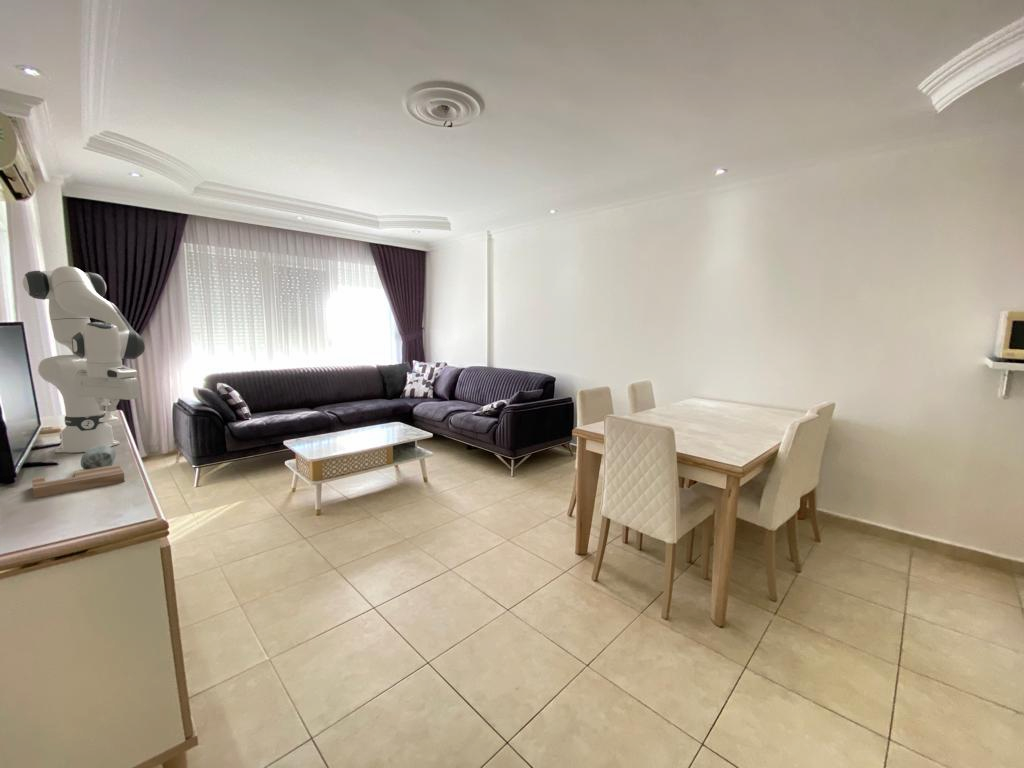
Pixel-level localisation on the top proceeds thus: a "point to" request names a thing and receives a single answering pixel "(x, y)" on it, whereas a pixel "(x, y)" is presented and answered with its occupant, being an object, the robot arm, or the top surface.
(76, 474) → the notch board
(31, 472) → the top surface
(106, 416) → the chess piece
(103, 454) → the yarn ball
